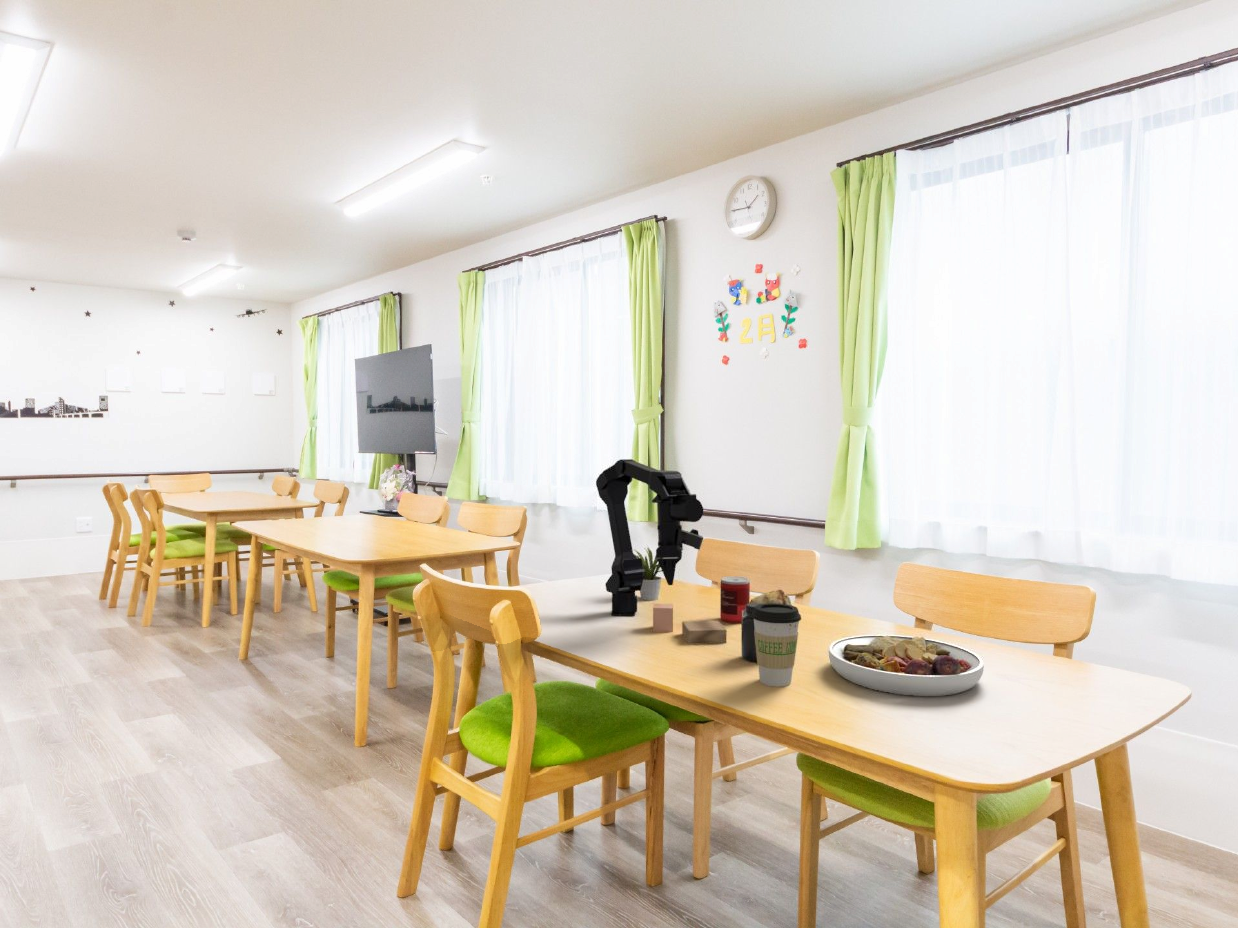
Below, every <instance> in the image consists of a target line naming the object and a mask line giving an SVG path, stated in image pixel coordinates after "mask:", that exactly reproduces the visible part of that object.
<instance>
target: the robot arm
mask: <svg viewBox="0 0 1238 928" xmlns="http://www.w3.org/2000/svg"><path fill="white" fill-rule="evenodd" d="M633 479H634V480H637V481H638V482H642V483H644V484H646V485H647V486H648V488H649V490H650V491H652V492H653V493H655V494H656V496H655V497H654V498H653V499H652V500H651V503H653V504H656V507H657V508H656V512H657V537H658V539H657V548H656V550H655V556H656V558H657V561H658V562H657V563H659V565H660V570H662V571H661V572H662V573H663V576H664V578H665V580H666V583H667V585H668V586H673V585H674V580H675V572H676V567H677V564H678V563H679V562H680V561H681V560H682V557H683V550H684V548H683V547H684V545H686V546H689V547H692V548H694V549H696V550H699V551H700V549H701V547H702V543H703V541H704V536H702V535H700V534H699V529H694V528H692V529H691V530H690V531H689V530H684V529H683V525H682V524H681V522H687V523H688V522H689V523H696V522H699V521H700V520H701V518H702V517H703V515H704V507H703V505H702V503H701V501H700V500H699V499H697V494H696V493H692V494H691V491H690V490H689V489H690V488H688V486H687V484H686V482H685V480H684V478H683V476H682V473H681V472H679V471H678V470H667V469H665V470H664V469H663V470H661V469H656V468H654V467H651V466H649V465H646V464H644V463H641V462H637V461H636V460H634V459H631V458H629V459H625V458H624V459H622V458H621V459H619V460H617V461H616V462H615V463H614V464H612V465H611V466H609V467H608V468H606V469H605V470H603V471H602V472H601V473H600V474H599V475H598V477H597V478H596V480H595V485H596V489H597V492H598V496H599V498H600V500H601V501H602V502H603V503H604V504H605V506H606V509H607V517H608V520H609V527H610V533H611V538H612V545H613V550H614V560H613V561H612V564H611V575H610V576H609V578H608V579H607V581H606V582H605V589H606V592H608V593H611V612H610V615H611V616H626V617H628V616H633V617H634V616H635V615H636V613H637V612H638V595H636V592H638V591H639V592H640V591H641V587H642V583H643V579H644V569H643V565H642V559H641V558H640V557H639V558H637V557H636V556H637V555H636V554H635V555H636V556H635V555H634V550H633V546H632V541H631V540H632V539H631V534H630V528H629V522H628V521H629V520H628V518H627V511H626V505H625V501H626V498H627V496H628V493H629V489H628V486H629V485H630V484H631V483H632V482H633Z"/></svg>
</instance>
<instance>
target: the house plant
mask: <svg viewBox="0 0 1238 928" xmlns="http://www.w3.org/2000/svg"><path fill="white" fill-rule="evenodd" d="M646 546H647V547H646V548H647V549H645V551H646V554H647V555H645V556H643V555H642V554H641V553H640V552H639V551H638V550H637V549H633V548H632V550H633V551H635V553H636V554H637V555H636V554H634V553H633V554H634V555H635V556H636V557H637V558H641V559H642V565H643V569H644V579H643V583H642V587H641V591H639V593H640V599H641V600H644V601H657V600H659V596H660V590H661V584H662V577H660V576H658V575H657V574H658V573H661V572H662V569H661V567H660V565H659V562H658V561H657V558H656V555H655V557H653V551H651V549H650V548H649V546H648V545H646ZM647 556H648V557H647ZM653 560H654V561H653Z"/></svg>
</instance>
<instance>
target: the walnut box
mask: <svg viewBox="0 0 1238 928" xmlns="http://www.w3.org/2000/svg"><path fill="white" fill-rule="evenodd" d="M681 622H682V624H681V625H682V626H681V627H682V628H681V629H682V630H681V634H682V636H683V637H684V639H685V640H686V641H687V643H688V644H690V645H696V644H700V645H701V644H727V630H728V629H726V627H725V626H724V625H723V624H722V623H721V622H720V621H719V620H686V621H684V620H682V621H681Z"/></svg>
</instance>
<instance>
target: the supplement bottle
mask: <svg viewBox="0 0 1238 928" xmlns="http://www.w3.org/2000/svg"><path fill="white" fill-rule="evenodd" d="M759 604H763V603H750V602H749V604H746V613H747V615H746V616H745V617H743V619H742V623H740V624H741V629H740V630H741V637H740V638H741V643H740V644H741V646H740V647H741V658H742V659H743V660H744V661H748V662H753V663H757V654H756V644H755V635H754V630H755V627H754V619H753V618H752V617H751V616H752V612H753V611H754V609H755V606H756V605H759Z"/></svg>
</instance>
